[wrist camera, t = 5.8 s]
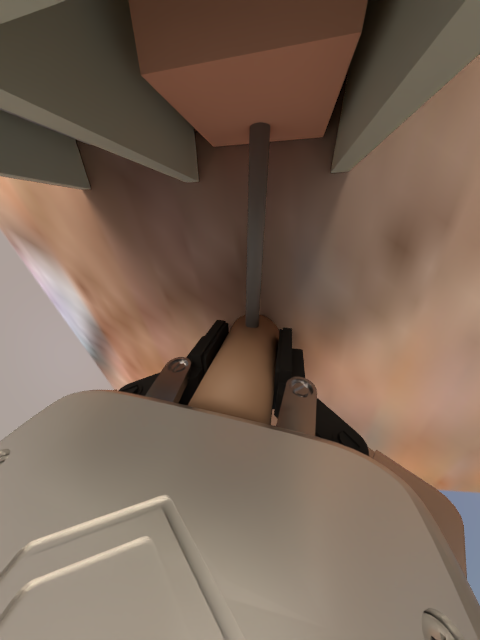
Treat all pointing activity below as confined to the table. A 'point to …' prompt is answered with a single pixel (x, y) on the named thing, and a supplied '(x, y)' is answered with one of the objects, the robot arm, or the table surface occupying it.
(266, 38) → the corded block
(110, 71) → the cubby shelf
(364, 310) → the table surface
